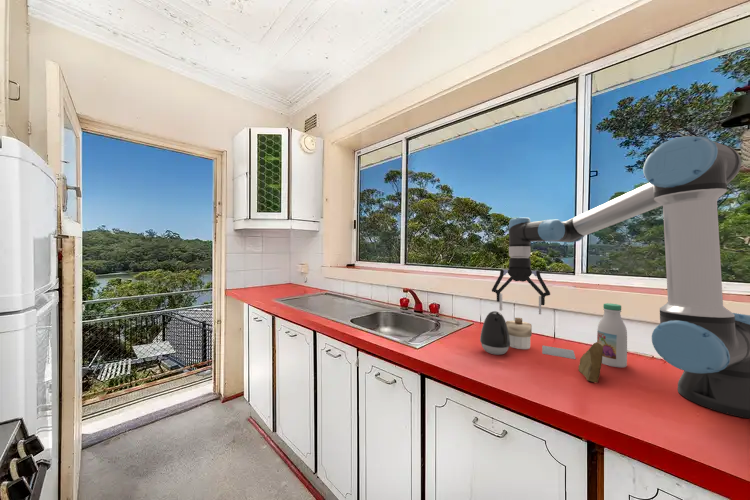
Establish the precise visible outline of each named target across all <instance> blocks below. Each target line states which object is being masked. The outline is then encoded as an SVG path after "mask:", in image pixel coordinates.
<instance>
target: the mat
mask: <svg viewBox="0 0 750 500" xmlns="http://www.w3.org/2000/svg"><path fill="white" fill-rule="evenodd" d="M541 346H542V347H541V353H542V355H549V356H553V357H561V358H566V359H571V360H576V359H577V358H576V354H575V351H574V350H573V349H568V348H567V349H566V348H561V347H553V346H550V345H549V346H548V345H541Z"/></svg>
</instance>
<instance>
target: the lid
mask: <svg viewBox="0 0 750 500" xmlns="http://www.w3.org/2000/svg"><path fill="white" fill-rule="evenodd" d="M505 321H506V324H507V328H508V331H509V335H512V336H516V337H530V338H531V337H532V334H533V333H532V330H533V328H532V324H531V323H530V322H527V321H523V318H522V317H515V318H514V320H505Z"/></svg>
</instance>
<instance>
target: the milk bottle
mask: <svg viewBox="0 0 750 500" xmlns="http://www.w3.org/2000/svg"><path fill="white" fill-rule="evenodd" d="M602 307H603V311H604V312H603V315H602V317H601V318H600V321H599V322H598V325H597V333H596V334H597V335H596V336H597V337H596V342H597V343H599V344H601V345H602V346H603V355H602V364H603V365H606V366H609V367H615V368H626V367H628V364H627V363H628V331H627V327H626V324H625V323H624V321H623V318H622V315H621V312H622V305H621V304H617V303H611V302H610V303H609V302H607V303H603V306H602ZM602 364H601V365H602Z"/></svg>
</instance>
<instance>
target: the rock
mask: <svg viewBox="0 0 750 500" xmlns="http://www.w3.org/2000/svg"><path fill="white" fill-rule="evenodd" d="M602 355H603V346H602V345H601V344H599V343H597V341H596V342H593V344H591V346H590V347H589V349H587V350H586V352H584V353H583V355H582V356H581V357H580V359H579V365H578V372H580V373H581V374H582V375H583V377H585V379H586V380H587V382H591V383H595V384H596V383H597V384H598V383H599V379H600V377H601V376H600V374H601V368H602Z"/></svg>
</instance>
